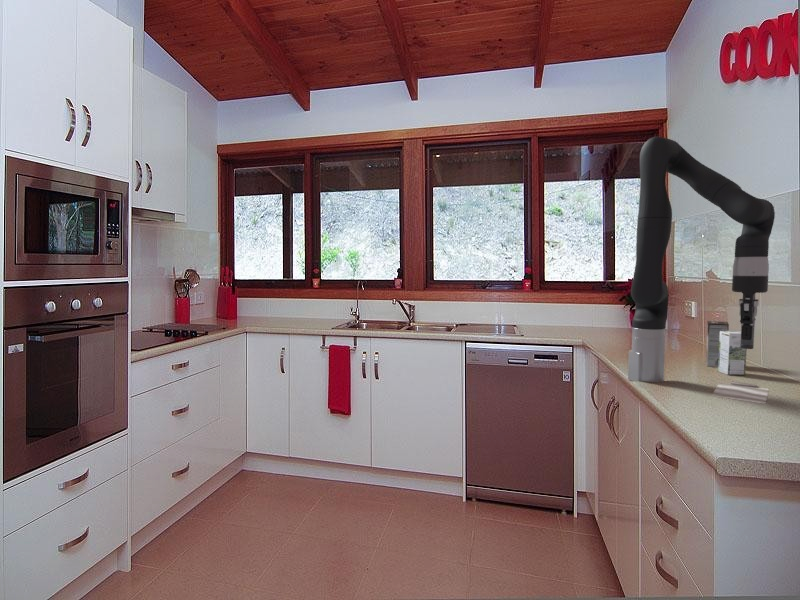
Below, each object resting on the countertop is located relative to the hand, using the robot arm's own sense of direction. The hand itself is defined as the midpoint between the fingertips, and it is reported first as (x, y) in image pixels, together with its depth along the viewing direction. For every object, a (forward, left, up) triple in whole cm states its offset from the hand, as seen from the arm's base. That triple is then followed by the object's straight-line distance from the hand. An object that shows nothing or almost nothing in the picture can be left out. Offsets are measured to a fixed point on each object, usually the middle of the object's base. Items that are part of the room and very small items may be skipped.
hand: (747, 338), depth 121 cm
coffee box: (+26, +46, -17) cm, 56 cm away
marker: (0, 0, -3) cm, 3 cm away
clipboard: (+3, +5, -17) cm, 18 cm away
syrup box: (+21, +32, -17) cm, 42 cm away
